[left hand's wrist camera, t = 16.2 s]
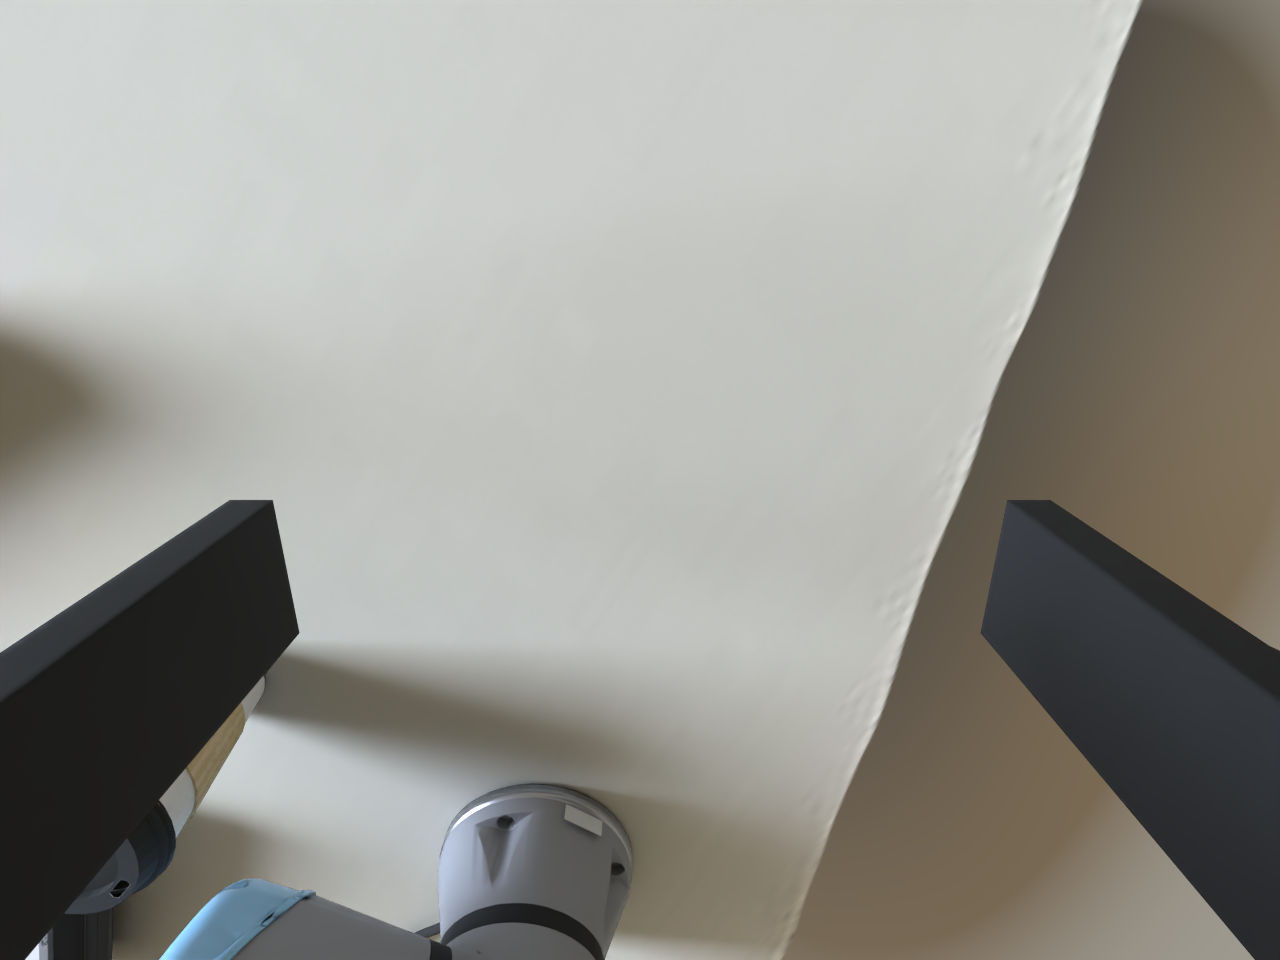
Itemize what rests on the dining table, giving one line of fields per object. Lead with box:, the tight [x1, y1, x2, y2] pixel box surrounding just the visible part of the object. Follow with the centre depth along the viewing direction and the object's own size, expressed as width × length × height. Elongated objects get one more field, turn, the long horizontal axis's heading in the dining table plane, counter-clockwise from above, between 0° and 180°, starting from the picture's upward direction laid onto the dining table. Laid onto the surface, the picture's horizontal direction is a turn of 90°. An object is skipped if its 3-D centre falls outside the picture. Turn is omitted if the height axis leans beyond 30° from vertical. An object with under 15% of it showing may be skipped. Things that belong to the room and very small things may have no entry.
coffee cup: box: [65, 676, 265, 914], centre depth 42 cm, size 10×10×15 cm
